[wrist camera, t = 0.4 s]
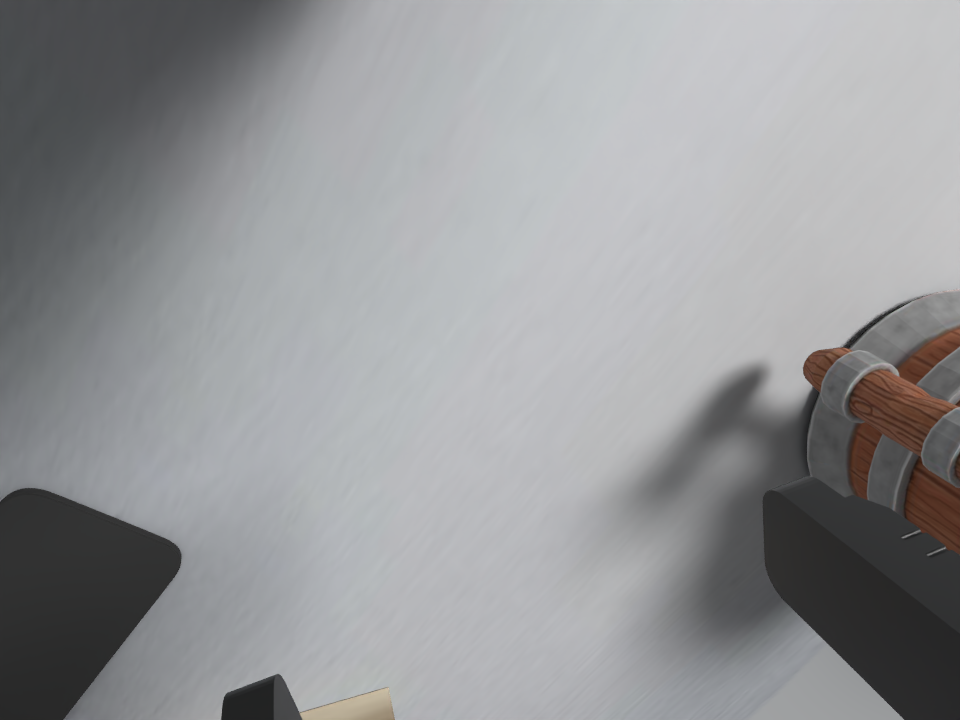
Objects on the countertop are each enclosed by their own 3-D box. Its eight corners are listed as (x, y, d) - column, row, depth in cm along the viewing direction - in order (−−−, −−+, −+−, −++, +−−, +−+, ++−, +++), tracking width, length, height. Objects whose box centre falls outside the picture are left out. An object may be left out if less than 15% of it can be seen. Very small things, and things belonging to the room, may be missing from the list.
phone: (193, 555, 29) (9, 791, 31) (195, 543, 29) (14, 774, 31) (12, 483, 25) (-182, 754, 27) (19, 471, 26) (-171, 736, 28)
